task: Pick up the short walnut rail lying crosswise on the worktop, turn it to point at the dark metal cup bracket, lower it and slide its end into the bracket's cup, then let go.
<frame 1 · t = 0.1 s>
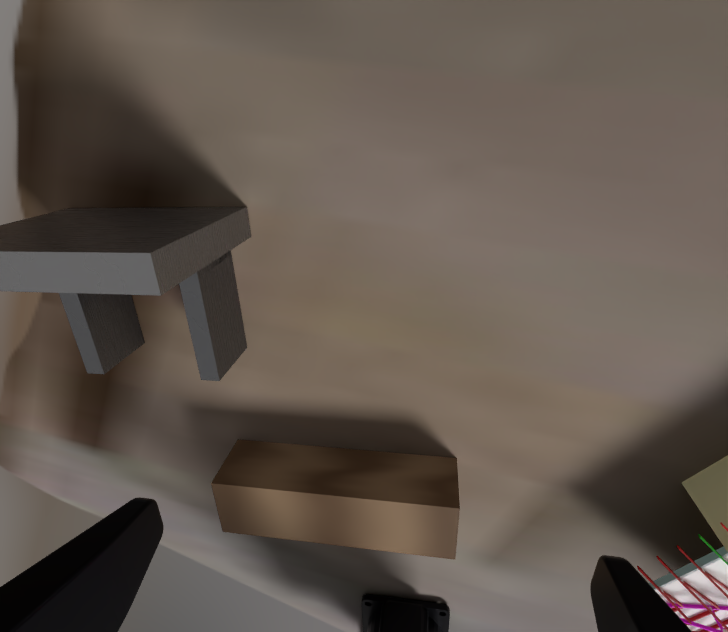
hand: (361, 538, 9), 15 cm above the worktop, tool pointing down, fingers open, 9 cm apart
rail: (345, 469, 28), on the worktop
cup bracket: (175, 297, 24), on the worktop
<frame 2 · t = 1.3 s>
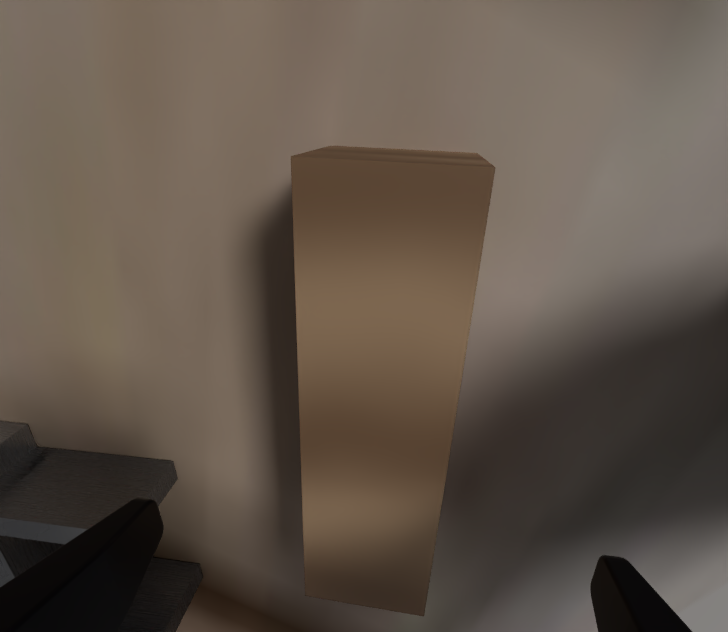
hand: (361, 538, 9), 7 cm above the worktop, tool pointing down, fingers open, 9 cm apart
rail: (387, 363, 15), on the worktop
cup bracket: (129, 516, 20), on the worktop
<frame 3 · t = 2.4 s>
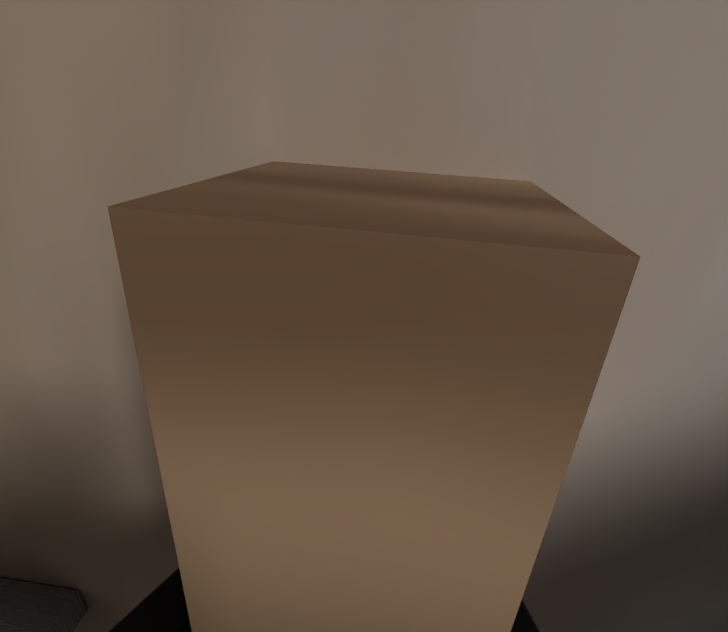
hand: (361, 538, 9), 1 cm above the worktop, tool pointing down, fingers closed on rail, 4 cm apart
rail: (370, 491, 10), on the worktop, touching gripper
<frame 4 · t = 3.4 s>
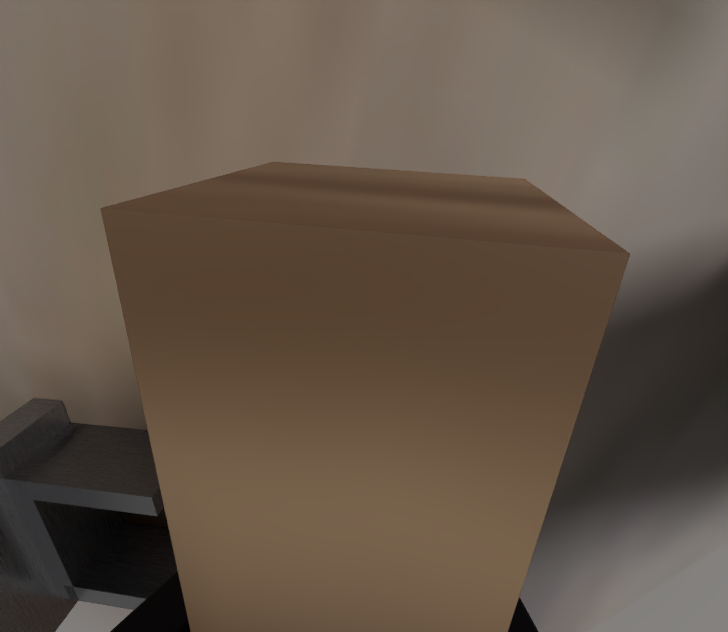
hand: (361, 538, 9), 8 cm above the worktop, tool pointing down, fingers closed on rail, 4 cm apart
rail: (370, 492, 10), point 7 cm above the worktop, touching gripper
cup bracket: (154, 489, 21), on the worktop
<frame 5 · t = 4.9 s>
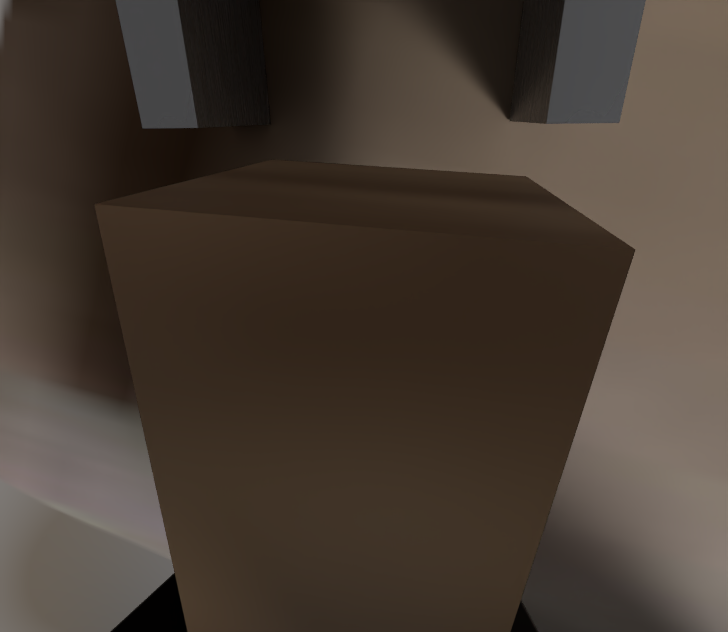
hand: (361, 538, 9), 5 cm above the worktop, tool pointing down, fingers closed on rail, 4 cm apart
rail: (370, 492, 10), point 4 cm above the worktop, touching gripper
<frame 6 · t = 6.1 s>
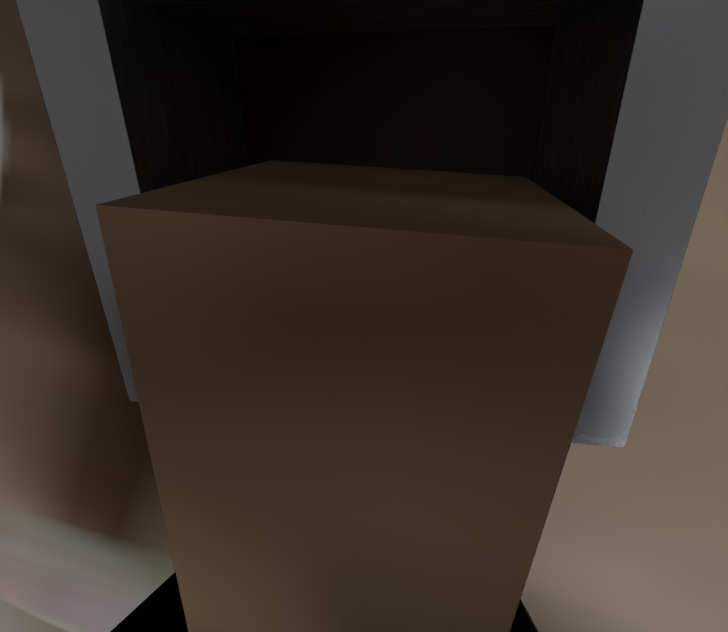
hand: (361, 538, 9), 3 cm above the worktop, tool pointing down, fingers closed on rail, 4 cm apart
rail: (370, 492, 10), point 2 cm above the worktop, touching gripper
cup bracket: (384, 184, 8), on the worktop
when the fingers open (2 cm above the worktop, at t = 6.7 s): rail drops 2 cm, on the worktop.
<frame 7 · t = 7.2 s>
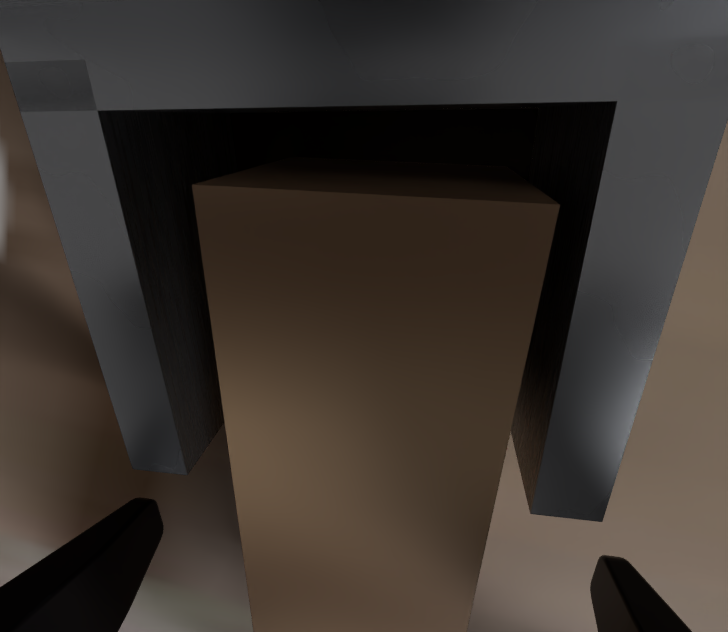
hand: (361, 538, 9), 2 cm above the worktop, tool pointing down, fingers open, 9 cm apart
rail: (380, 444, 11), on the worktop
cup bracket: (376, 247, 9), on the worktop
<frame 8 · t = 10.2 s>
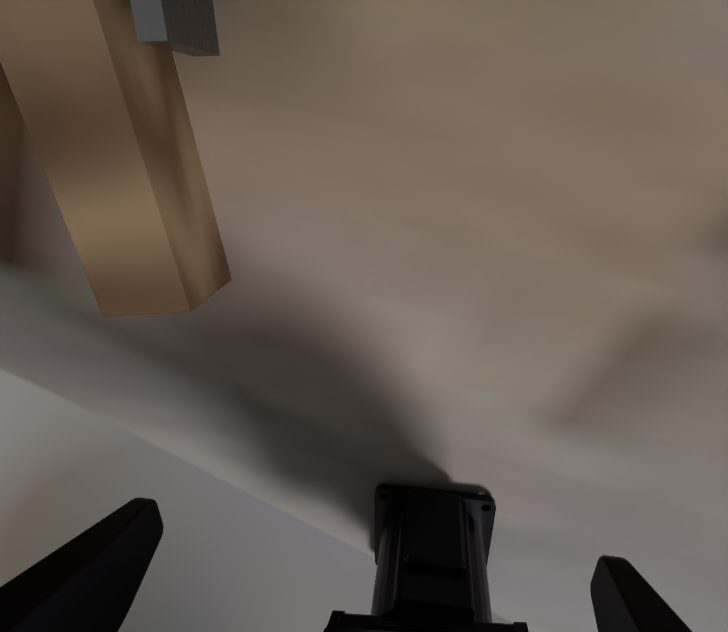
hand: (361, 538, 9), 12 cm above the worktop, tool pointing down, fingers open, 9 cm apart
rail: (149, 124, 18), on the worktop
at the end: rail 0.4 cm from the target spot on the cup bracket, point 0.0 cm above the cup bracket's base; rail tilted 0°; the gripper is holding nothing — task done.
